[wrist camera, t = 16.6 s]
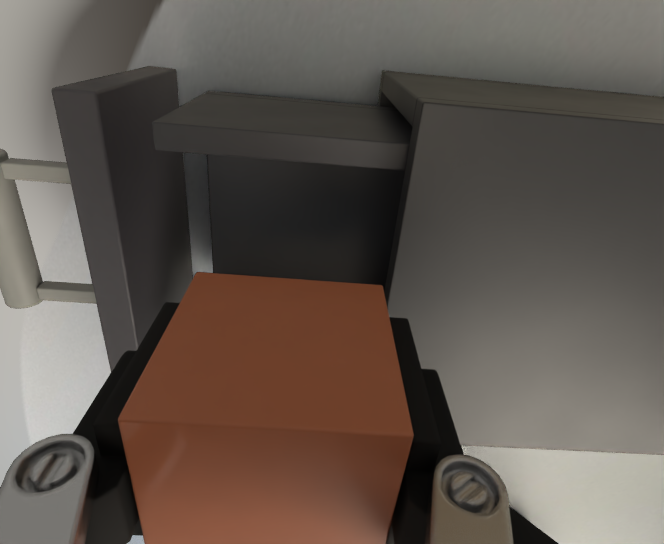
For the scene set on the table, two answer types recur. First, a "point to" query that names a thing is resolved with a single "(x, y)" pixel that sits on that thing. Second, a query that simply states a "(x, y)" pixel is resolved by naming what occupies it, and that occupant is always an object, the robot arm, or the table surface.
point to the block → (269, 416)
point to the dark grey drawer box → (534, 259)
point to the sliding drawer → (224, 194)
